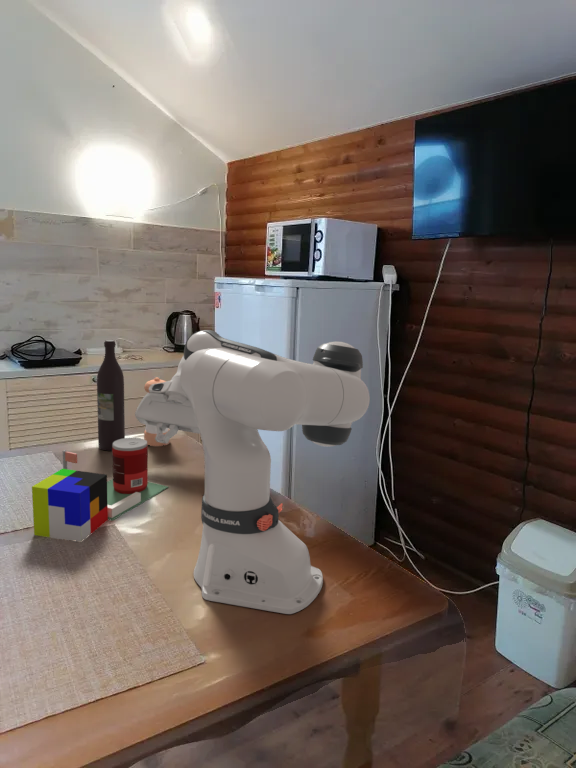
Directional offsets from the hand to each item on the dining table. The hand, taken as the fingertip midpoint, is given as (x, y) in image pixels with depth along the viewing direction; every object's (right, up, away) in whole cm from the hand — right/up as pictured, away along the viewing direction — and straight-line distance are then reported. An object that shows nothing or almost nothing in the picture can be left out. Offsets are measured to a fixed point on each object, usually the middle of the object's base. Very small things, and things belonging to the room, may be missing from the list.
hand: (160, 441), depth 147 cm
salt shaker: (-6, -3, +24) cm, 25 cm away
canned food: (-5, -10, -9) cm, 15 cm away
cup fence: (-9, -12, -17) cm, 23 cm away
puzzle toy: (-11, -14, -29) cm, 34 cm away
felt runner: (-7, -11, -14) cm, 19 cm away
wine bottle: (-18, -3, +18) cm, 26 cm away
